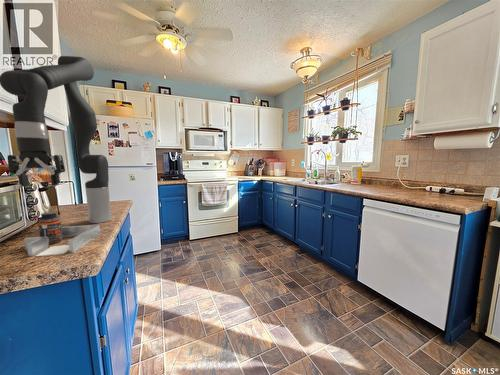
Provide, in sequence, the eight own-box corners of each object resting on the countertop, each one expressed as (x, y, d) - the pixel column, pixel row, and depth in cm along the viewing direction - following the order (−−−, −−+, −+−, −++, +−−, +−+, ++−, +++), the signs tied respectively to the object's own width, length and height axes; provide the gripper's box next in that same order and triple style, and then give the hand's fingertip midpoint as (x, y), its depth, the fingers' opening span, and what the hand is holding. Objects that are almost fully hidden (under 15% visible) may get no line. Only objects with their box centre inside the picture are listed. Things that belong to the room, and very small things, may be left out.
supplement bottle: (49, 246, 73) (45, 215, 72) (36, 244, 75) (32, 214, 73) (67, 239, 79) (63, 211, 78) (54, 238, 80) (51, 210, 79)
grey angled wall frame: (51, 237, 82) (50, 227, 81) (100, 233, 86) (99, 224, 85) (9, 257, 64) (8, 245, 64) (73, 252, 68) (72, 240, 68)
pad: (52, 247, 73) (52, 246, 72) (77, 245, 74) (77, 244, 74) (35, 256, 65) (35, 255, 65) (63, 254, 67) (63, 253, 67)
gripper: (65, 138, 73) (71, 183, 76) (16, 137, 70) (24, 185, 72) (50, 136, 66) (57, 186, 68) (-6, 135, 63) (4, 188, 65)
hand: (40, 185), depth 70 cm, fingers open, 8 cm apart
